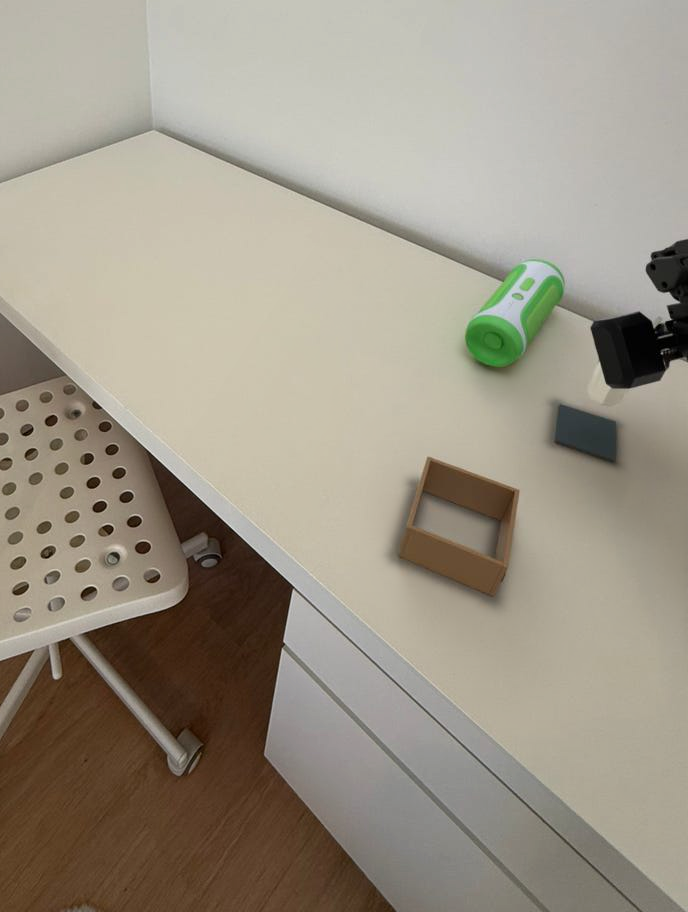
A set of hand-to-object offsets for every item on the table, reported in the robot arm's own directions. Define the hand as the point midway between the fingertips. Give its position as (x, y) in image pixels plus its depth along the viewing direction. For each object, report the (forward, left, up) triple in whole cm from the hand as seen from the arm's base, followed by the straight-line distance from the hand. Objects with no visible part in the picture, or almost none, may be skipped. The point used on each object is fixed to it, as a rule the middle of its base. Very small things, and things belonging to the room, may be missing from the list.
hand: (618, 340), depth 69 cm
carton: (+10, +21, -13) cm, 27 cm away
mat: (-1, +1, -13) cm, 13 cm away
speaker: (+9, -13, -13) cm, 21 cm away
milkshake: (-1, +1, -7) cm, 7 cm away
